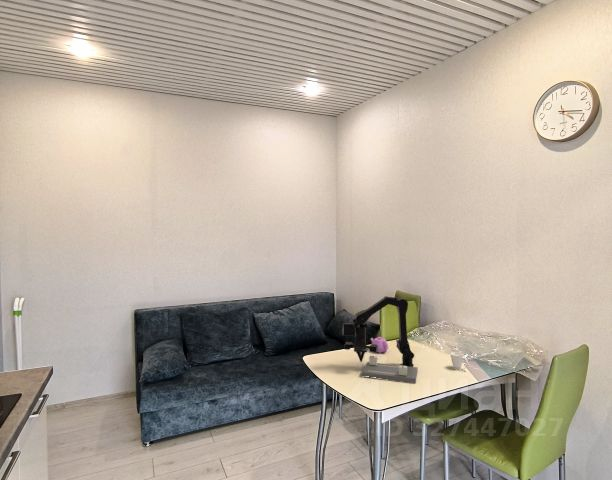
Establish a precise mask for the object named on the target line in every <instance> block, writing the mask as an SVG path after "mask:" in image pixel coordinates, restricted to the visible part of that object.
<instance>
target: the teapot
mask: <svg viewBox="0 0 612 480" xmlns="http://www.w3.org/2000/svg"><path fill="white" fill-rule="evenodd" d="M369 340H370V341H371V344H376V345H378V350H377V352H378V354H379V353H381V354H382V353H387V352H388V349H389V343H388V342H387V340H386V339H385V338H383V337H382V336H378V337H375V338H373V337H371V338H370V339H369ZM377 352H376V353H377Z"/></svg>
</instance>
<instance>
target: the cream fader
mask: <svg viewBox="0 0 612 480" xmlns="http://www.w3.org/2000/svg"><path fill="white" fill-rule="evenodd" d="M368 362H369V364H370V365H377V363H378V355H377V356H376V355H369V357H368Z"/></svg>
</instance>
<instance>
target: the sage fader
mask: <svg viewBox="0 0 612 480" xmlns="http://www.w3.org/2000/svg"><path fill="white" fill-rule="evenodd" d="M399 375H405V376H407V366H402V364H400V365H399Z"/></svg>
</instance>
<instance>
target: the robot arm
mask: <svg viewBox="0 0 612 480" xmlns="http://www.w3.org/2000/svg"><path fill="white" fill-rule="evenodd" d="M389 305H391V306H395V308H396V310H397V314H398V315H397V316H398V335H399V337H398V339H396V340H395V341H396V348H397V349H398V351H399V352H400V354H401V358H402V360H401V361H402V363H401V366H409V367H415V364H414V363H413V361H414V360H413V359H414V358H415V354H414V352H412V350H411V347H410V343H409V340H408V333H407V332H408V330H407V312H408V309H409V308H408V307H409V302H408V300H406V298H404V297H402V296H399V297H391V296H387V295H385V296H383V298H381V299H380V300H379V301H377V302H375V303H374V304H373V305H370V307H368V308H366V309H363V310H360V311H358V312H356V313H355V314H354V318H353V319H352V320H351V323H345V322H344V323H342V328H341V329H342V336H353V335H355V338H354V339H355V340H354V343H353V342H352V341H351V342H350V341H346V342H345V344H344V345H343V349H344V350H347V351H349V350H350V349H353V352H355V353H356V354H357V356H358V358H359V359H358V360H359V362H361V363H362V362H363V359H364V357H365V354H366V353H367V352H368V351H369V352H371V353H377V350H378V345H376V344H372V343H370V345H368V344H367V341H366V339H367V336H366V334H367V333H366V328H369V327H370V326H369V324H367V322H368V320H369V319H370V318H371V317H372V316H373V315H375V314H376V313H378V312H379V311H381V310H382V309H384V308H385V307H386V306H389Z"/></svg>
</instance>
